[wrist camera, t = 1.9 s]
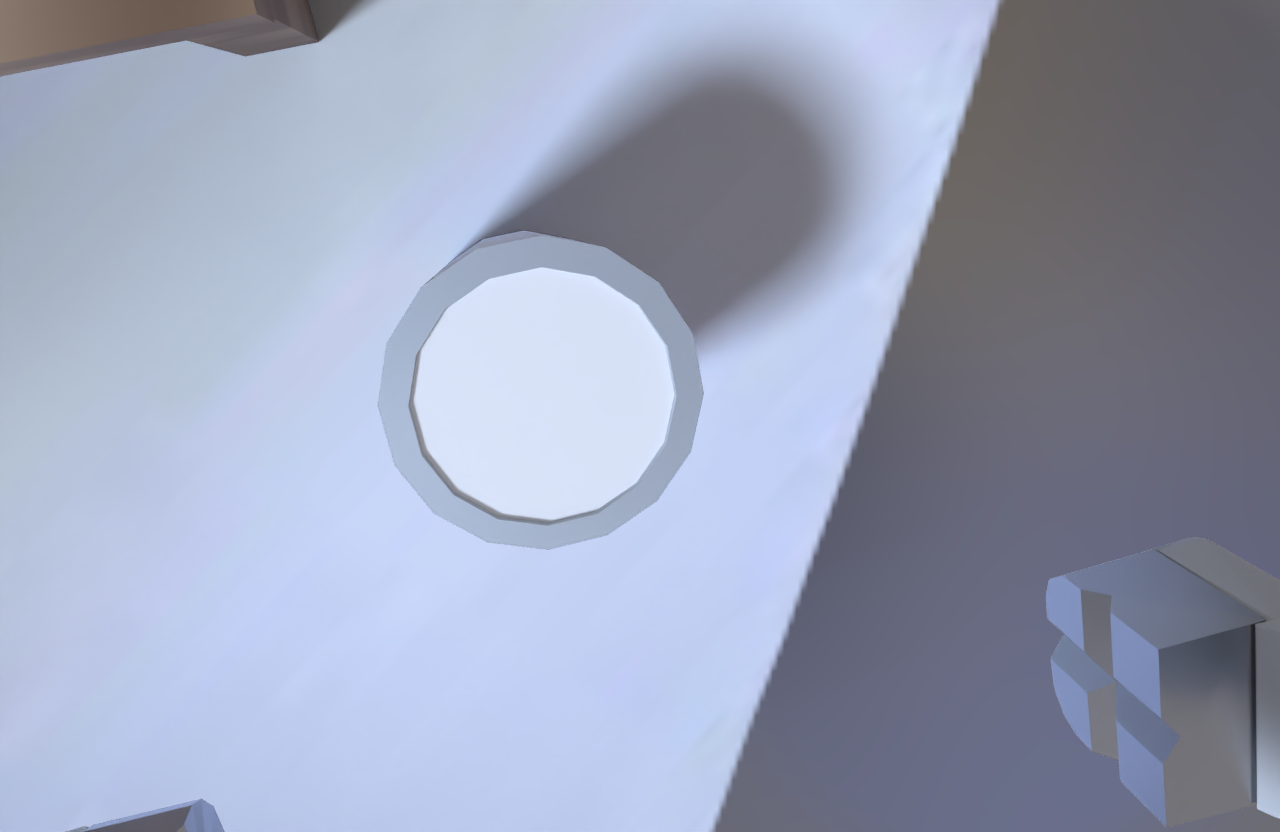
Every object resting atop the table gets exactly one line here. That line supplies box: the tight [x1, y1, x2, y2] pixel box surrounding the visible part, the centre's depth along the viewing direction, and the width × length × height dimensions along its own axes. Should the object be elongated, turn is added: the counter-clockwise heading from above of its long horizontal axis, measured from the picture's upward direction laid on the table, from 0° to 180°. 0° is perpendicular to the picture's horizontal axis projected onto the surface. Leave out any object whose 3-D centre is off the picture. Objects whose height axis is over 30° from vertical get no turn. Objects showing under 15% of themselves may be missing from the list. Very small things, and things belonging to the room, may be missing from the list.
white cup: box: [378, 230, 704, 550], centre depth 25 cm, size 7×7×7 cm
